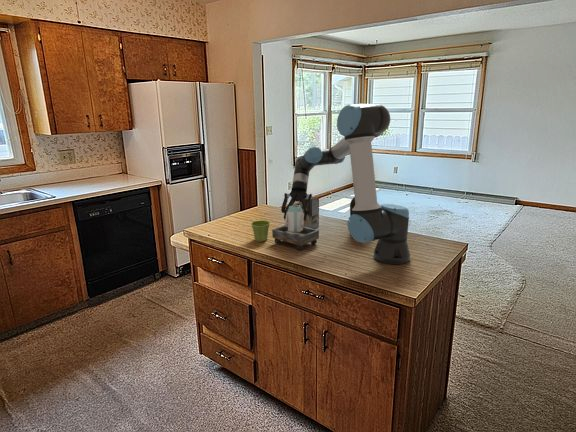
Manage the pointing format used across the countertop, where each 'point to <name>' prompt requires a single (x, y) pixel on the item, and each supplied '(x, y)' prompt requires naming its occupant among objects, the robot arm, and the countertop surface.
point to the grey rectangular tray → (295, 236)
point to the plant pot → (260, 230)
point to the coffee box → (312, 213)
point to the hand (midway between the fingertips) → (294, 225)
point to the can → (295, 218)
